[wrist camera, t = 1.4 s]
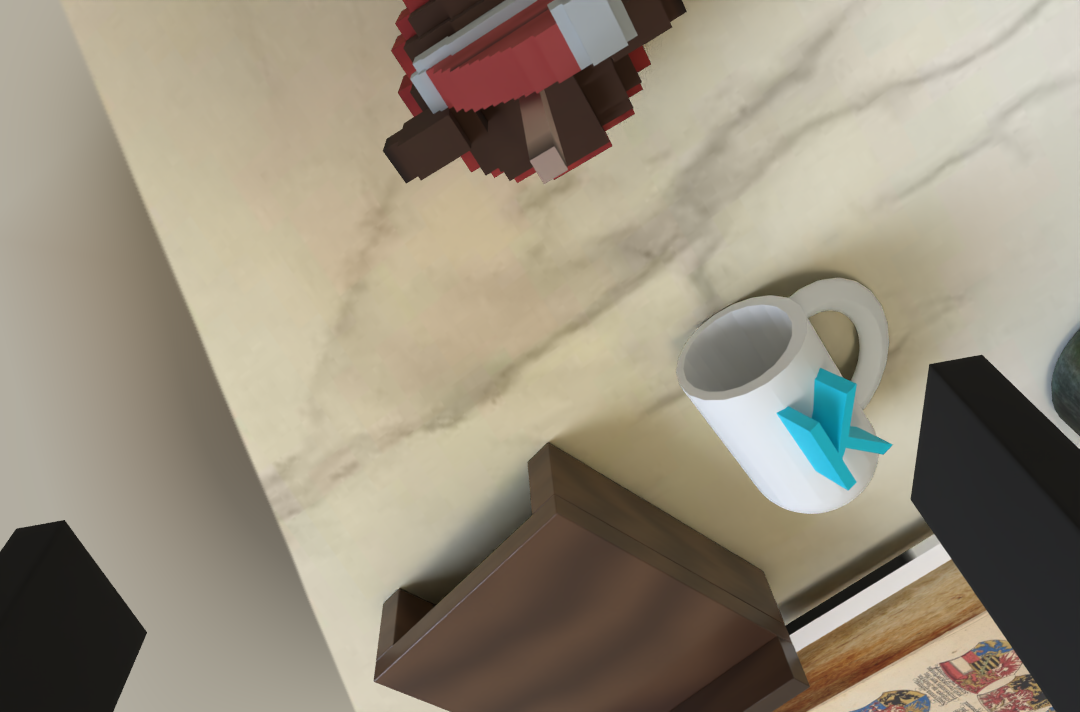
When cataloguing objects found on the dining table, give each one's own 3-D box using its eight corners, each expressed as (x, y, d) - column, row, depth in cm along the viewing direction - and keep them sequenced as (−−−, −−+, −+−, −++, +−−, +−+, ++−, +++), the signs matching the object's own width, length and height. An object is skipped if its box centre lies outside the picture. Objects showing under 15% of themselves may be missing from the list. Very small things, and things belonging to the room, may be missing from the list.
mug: (861, 578, 39) (759, 437, 33) (749, 498, 47) (652, 373, 41) (1011, 419, 40) (938, 256, 34) (877, 367, 48) (799, 227, 42)
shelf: (382, 604, 53) (367, 727, 45) (547, 441, 46) (562, 555, 38) (595, 697, 60) (612, 816, 53) (763, 571, 54) (810, 687, 46)
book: (971, 479, 50) (653, 681, 60) (1031, 551, 45) (671, 760, 54) (1110, 631, 61) (821, 782, 70) (1171, 704, 56) (850, 857, 65)
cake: (471, 178, 36) (467, 399, 21) (350, -5, 32) (234, 112, 17) (670, 58, 34) (825, 212, 19) (571, -159, 29) (671, -184, 14)
